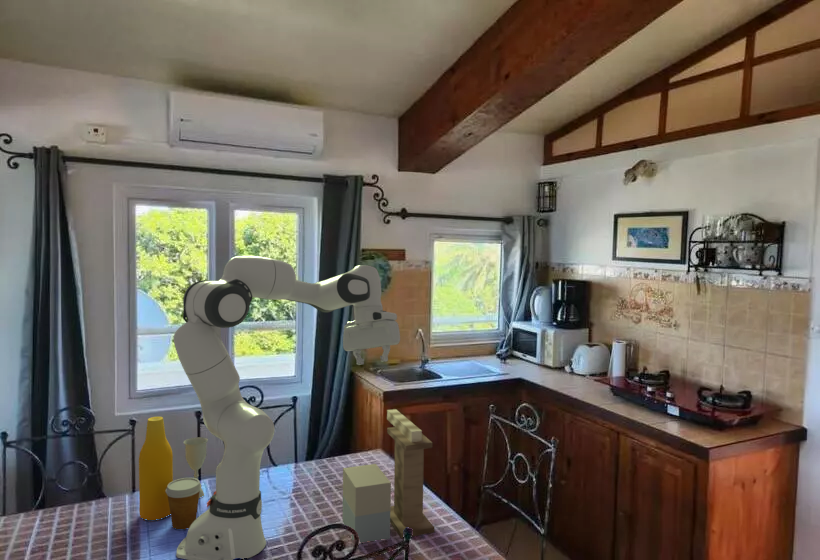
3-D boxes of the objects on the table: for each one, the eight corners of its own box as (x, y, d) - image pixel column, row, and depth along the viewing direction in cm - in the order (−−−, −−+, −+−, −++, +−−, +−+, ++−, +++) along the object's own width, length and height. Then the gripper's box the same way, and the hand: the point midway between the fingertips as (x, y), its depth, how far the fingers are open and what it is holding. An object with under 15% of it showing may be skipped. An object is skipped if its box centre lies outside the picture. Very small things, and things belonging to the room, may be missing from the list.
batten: (387, 419, 175) (387, 410, 174) (396, 418, 176) (396, 409, 176) (411, 442, 154) (411, 431, 154) (421, 441, 155) (421, 430, 155)
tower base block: (342, 521, 162) (342, 494, 162) (375, 516, 165) (375, 489, 165) (354, 545, 149) (355, 516, 148) (390, 539, 152) (390, 510, 152)
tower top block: (342, 494, 162) (343, 468, 161) (375, 490, 165) (375, 463, 165) (355, 516, 148) (355, 487, 148) (390, 510, 152) (390, 482, 152)
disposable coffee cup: (204, 527, 157) (204, 486, 156) (168, 536, 152) (168, 493, 151) (198, 513, 165) (197, 474, 165) (163, 521, 160) (163, 481, 159)
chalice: (182, 501, 173) (182, 445, 172) (185, 492, 179) (184, 438, 178) (207, 499, 175) (207, 443, 174) (209, 490, 181) (208, 436, 180)
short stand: (383, 512, 167) (384, 428, 166) (414, 507, 171) (415, 424, 170) (401, 538, 152) (402, 446, 151) (434, 532, 156) (435, 442, 155)
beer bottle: (138, 524, 158) (136, 425, 157) (140, 510, 167) (139, 415, 165) (173, 518, 162) (172, 421, 160) (173, 505, 170) (172, 412, 169)
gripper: (337, 322, 173) (339, 366, 170) (388, 312, 161) (391, 359, 159) (350, 322, 178) (353, 366, 175) (401, 313, 166) (405, 359, 164)
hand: (372, 363), depth 167 cm, fingers open, 8 cm apart
